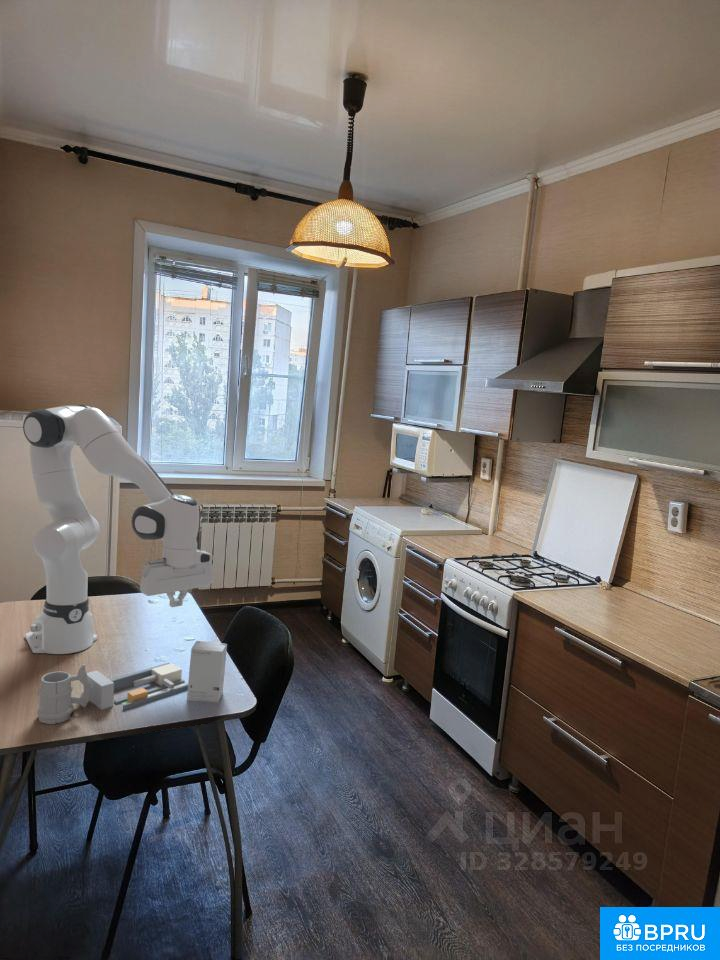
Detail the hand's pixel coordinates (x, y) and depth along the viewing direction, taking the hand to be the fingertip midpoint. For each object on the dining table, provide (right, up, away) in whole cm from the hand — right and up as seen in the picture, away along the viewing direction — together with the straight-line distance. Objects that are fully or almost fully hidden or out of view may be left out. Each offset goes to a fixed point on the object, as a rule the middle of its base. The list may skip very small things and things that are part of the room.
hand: (175, 606), depth 169 cm
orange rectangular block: (-6, -21, -13) cm, 25 cm away
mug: (-21, -22, -20) cm, 36 cm away
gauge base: (-7, -21, -6) cm, 23 cm away
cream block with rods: (-3, -20, -5) cm, 21 cm away
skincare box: (+10, -23, -8) cm, 26 cm away
